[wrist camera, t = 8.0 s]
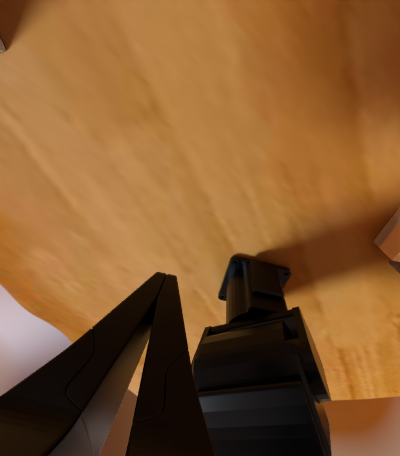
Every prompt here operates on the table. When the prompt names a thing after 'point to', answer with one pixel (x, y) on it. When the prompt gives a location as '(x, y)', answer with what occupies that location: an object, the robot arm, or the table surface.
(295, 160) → the table surface
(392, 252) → the plate
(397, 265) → the taupe rectangular slab
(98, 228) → the table surface
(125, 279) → the table surface
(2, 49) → the coffee box
